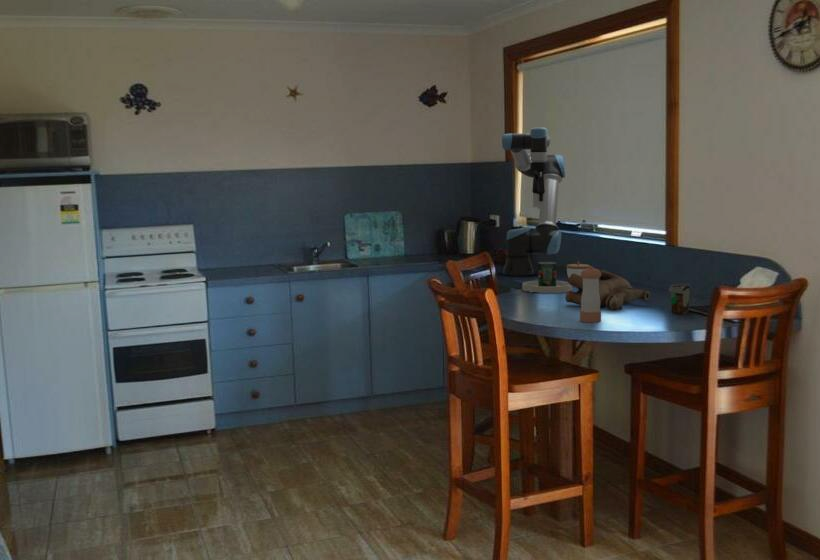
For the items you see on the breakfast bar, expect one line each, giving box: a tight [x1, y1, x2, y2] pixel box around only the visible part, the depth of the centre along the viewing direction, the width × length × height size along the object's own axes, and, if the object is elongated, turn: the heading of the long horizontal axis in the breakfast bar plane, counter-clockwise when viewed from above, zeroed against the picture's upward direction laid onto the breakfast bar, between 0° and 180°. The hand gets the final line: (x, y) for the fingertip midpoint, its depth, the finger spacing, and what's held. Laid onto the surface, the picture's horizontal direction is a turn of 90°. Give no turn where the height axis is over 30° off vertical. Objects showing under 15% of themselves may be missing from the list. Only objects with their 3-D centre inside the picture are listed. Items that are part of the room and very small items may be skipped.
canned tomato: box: [537, 261, 557, 287], centre depth 373 cm, size 8×8×11 cm
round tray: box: [521, 279, 573, 294], centre depth 374 cm, size 21×21×3 cm
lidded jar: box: [566, 261, 591, 279], centre depth 399 cm, size 11×11×9 cm
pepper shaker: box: [579, 265, 602, 323], centre depth 296 cm, size 7×7×19 cm
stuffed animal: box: [565, 269, 651, 310], centre depth 331 cm, size 13×31×25 cm
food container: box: [668, 283, 691, 316], centre depth 312 cm, size 12×6×10 cm, turn 150°
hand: (538, 207), depth 395 cm, fingers open, 13 cm apart
